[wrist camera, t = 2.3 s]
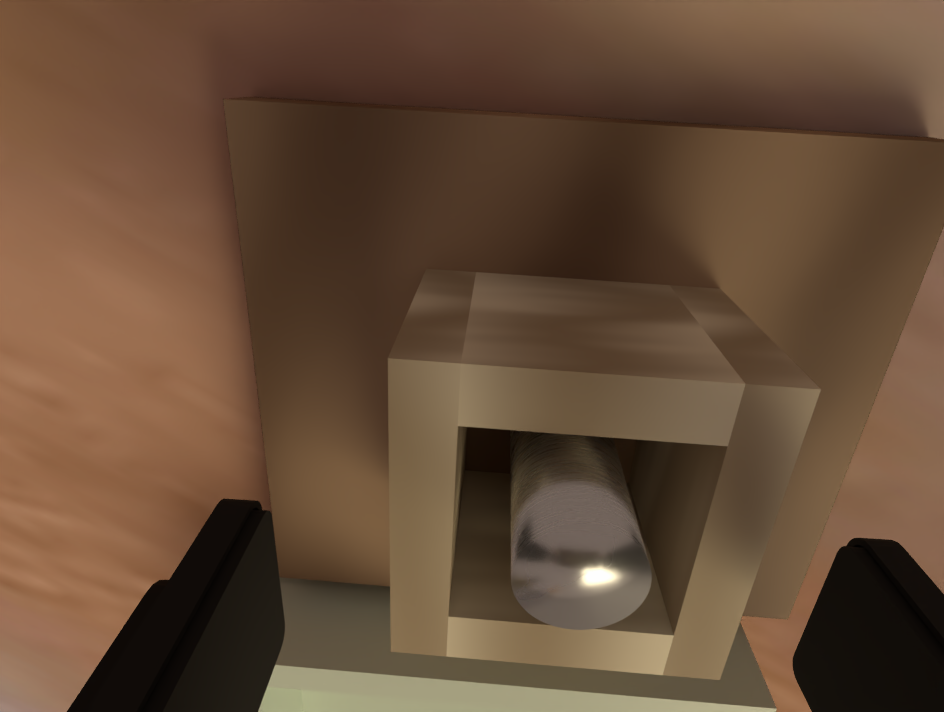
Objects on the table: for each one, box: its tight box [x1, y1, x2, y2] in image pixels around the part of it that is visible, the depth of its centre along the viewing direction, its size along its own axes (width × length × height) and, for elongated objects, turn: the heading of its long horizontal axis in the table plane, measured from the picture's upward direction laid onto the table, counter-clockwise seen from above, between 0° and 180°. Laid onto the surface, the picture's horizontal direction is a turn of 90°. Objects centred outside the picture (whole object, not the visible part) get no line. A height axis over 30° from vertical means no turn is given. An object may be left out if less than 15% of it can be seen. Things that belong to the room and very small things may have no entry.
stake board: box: [223, 97, 944, 619], centre depth 16 cm, size 16×14×2 cm
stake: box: [510, 430, 652, 630], centre depth 13 cm, size 2×2×6 cm
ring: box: [388, 269, 821, 680], centre depth 13 cm, size 7×7×5 cm
